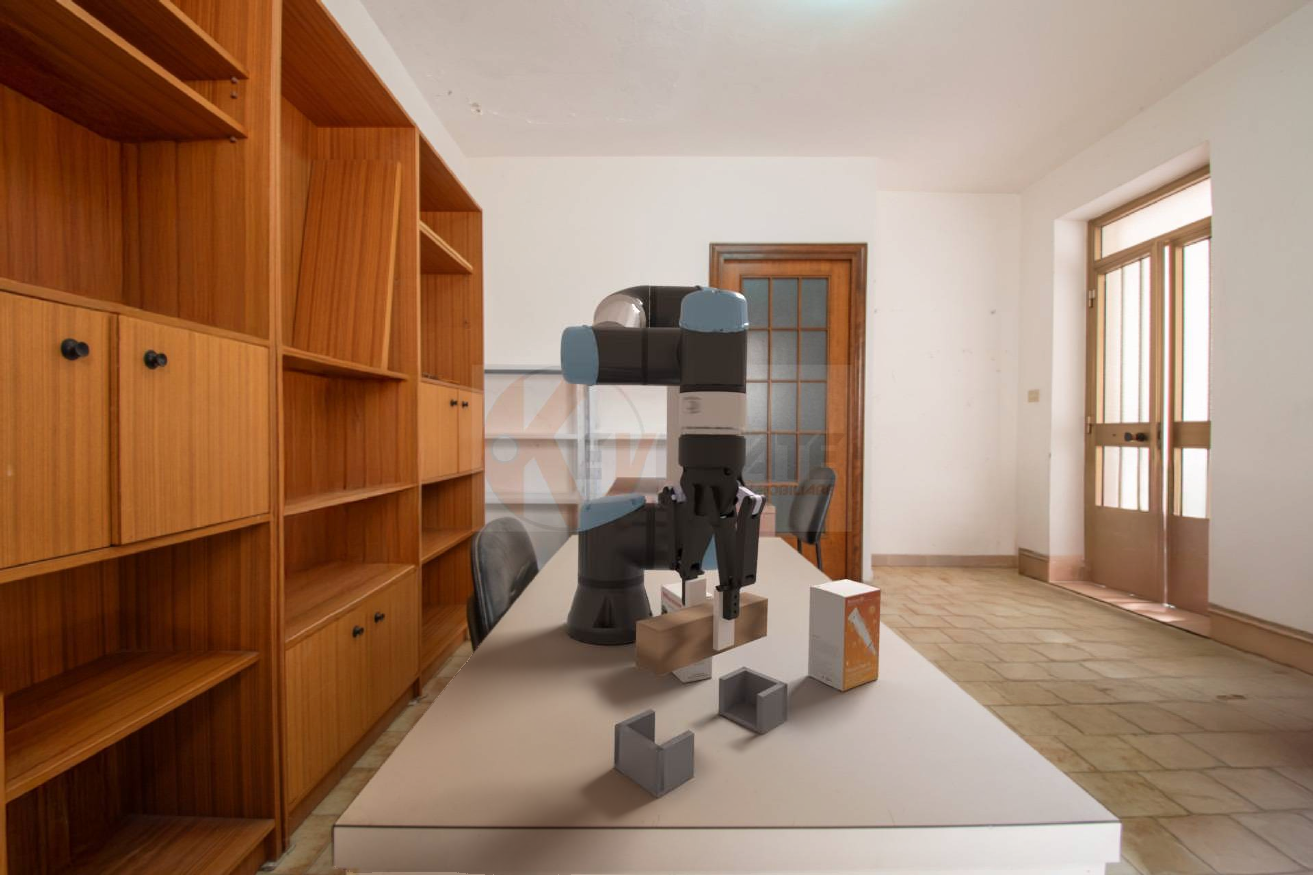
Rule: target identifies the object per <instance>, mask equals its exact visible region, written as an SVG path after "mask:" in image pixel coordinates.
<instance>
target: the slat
mask: <svg viewBox="0 0 1313 875" xmlns="http://www.w3.org/2000/svg"><path fill="white" fill-rule="evenodd" d="M713 604H714V601H710V602H707V603H703V604H699V605H696V606H692V607H688V608H685V609H681V610H677V611H674V612H670V613H666V614H663V615H661V614H659V615H655V616H653V617H652V618H648V619H644V620H641V621H637V624H636V641H635V658H634V661H635V666H636V667H638V668H640V669H642V670H644V671H647V672H648V673H651V674H652V675H654V676H657V677H661V676H664V675H666V674H670V673H673V672H672V671H675V670H677V669H680V668H683V667H685V666H688V665H691V664H693V663H696V662H699V661H701V660H704V659H707V658H709V657H712V658H713V657H714V656H717V655H720V654H723V653H725V652H727V651H730V650H733V649H735V648H739V647H741V646H744V645H746V644H749V643H752V642H754V641H756V640H760V639H762V638H765V637H767V636H768V612H769V611H768V610H769V598H768V597H767V598H766V597H763V596H760V595H756V594H753V593H749V592H746V591H743V592H740V601H739V616H738V618H735V619H734V645H732V646H729V647H727V648H724V649H722V650H719V651H717V650H714V649H713Z"/></svg>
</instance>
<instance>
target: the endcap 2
mask: <svg viewBox="0 0 1313 875" xmlns="http://www.w3.org/2000/svg"><path fill="white" fill-rule="evenodd" d="M718 714H720V715H722V716H723V717H726V718H728V719H729V720H732V721H734V722H736V723H738V724H740V725H742V726H744V727H746V728H748V729H750V730H752V731H753V732H756V733H758V734H759V735H762V736H763V735H764V734H766V733H767V732H770V731H771V730H772V729H774V728H776V727H777V726H779V725H781V724H782V723H784V722H786V721H788V683H787V682H784V681H781V680H780V679H779V680H778V679H776V678H773V677H771V676H769V675H766V674H764V673H761V672H759V671H756V670H753V669H751V668H750V667H746V666H742V667H739V668H738V669H735V670H733V671H731V672H728V673H727V674H724V675H723V676H720V677H719V678H718Z"/></svg>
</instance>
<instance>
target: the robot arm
mask: <svg viewBox="0 0 1313 875" xmlns="http://www.w3.org/2000/svg"><path fill="white" fill-rule="evenodd" d="M593 313H594V314H593V320H592V321H593V323H592V324H591V325H588V324H583V325H582V326H581V325H577V326H574V325H573V326H568V327H565V329H563V331H562V334H561V338H560V352H559V353H560V368H561V374H562V377H563V380H564V381H566V383H568V384H571V385H586V386H587V387H594V386H642V387H643V386H645V387H647V386H648V387H666V456H665V457H666V458H665V460H666V463H665V465H666V470H665V472H666V473H665V474H666V476H665V477H666V478H665V479H666V480H665V484H664V486H663V487H662V488H661V489H660V490H659V491H658V492H657V502H647V498H646V495H644V494H642V493H633V494H632V493H625V494H624V493H623V494H617V495H616V494H615V495H610V496H609V495H608V496H602V497H598V498H594V499H591V500H588V501H586V502H584V503H583V504H582V505H581V506H580V509H579V512H578V513H579V514H578V526H577V529H576V532H578V534H577V538H578V539H577V540H578V541H577V543H578V544H577V546H578V547H577V548H578V549H577V551H578V552H577V587H576V588H575V593H574V596H573V598H572V602H571V606H570V610H569V612H568V613H567V617H566V619H567V620H566V631H567V634H568V635H569V636H571V637H572V638H573V639H575V640H578V641H581V642H584V643H589V644H595V645H597V644H598V645H622V644H628V643H633V642H636V624H637V621H641V620H644V619H648V618H652V617H654V613H653V611H652V609H651V604H650V600H649V596H648V594H647V589H646V587H645V571H670V572H671V571H672V572H673V571H675V572H676V573H677V574H679V577H680V579H681V582H682V604H683V606H685V608H688V607H692V606H696V605H699V604H703V603H706V591H707V578H706V577H702V575H705V572H706V571H717V572H718V582H719V584H718V585H715V587H714V588H713V597H714V604H713V649H714V650H717V651H719V650H722V649H724V648H727V647H729V646H732V645H734V619H735V618H738V616H739V601H740V593H741V592H740V591H741V589H742V588H745V587H747V586H752V585H754V584H756V582H757V573H758V557H759V545H760V544H759V541H760V528H761V516H762V513H763V511H764V508H765V506H766V503H767V497H766V496H765V495H764V494H762V493H760V494H756V493H754V492H753V491H752V490H749V489H748V488H746V482H745V479H744V477H743V470H744V467H745V466H746V463H747V462H746V460H747V457H746V456H747V454H746V453H747V452H746V451H747V448H746V447H747V438H745V435H741V432H742V430H743V431H744V430H746V429H747V426H748V425H747V423H748V422H747V417H748V416H747V414H748V413H747V412H748V411H747V404H748V402H747V401H748V398H747V374H748V373H747V370H748V367H747V366H748V365H747V363H748V338H749V336H748V335H749V334H748V332H749V328H750V322H749V318H748V314H749V313H748V301H747V299H746V297H745V296H744V295H743V294H741V293H740V292H738V291H737V292H736V291H733V290H728V289H718V288H716V287H712V286H702V285H699V284H698V285H695V286H684V285H680V286H679V285H678V286H677V285H645V284H643V285H636V286H631V287H630V286H629V287H627V288H623V289H620V290H617V291H615V292H613V293H611V294H609V295H607V296H606V297H605V298H603V299H601V301H600V302H599V303H598V304H597V306H596V309H595V311H594V312H593ZM737 509H738V510H737Z"/></svg>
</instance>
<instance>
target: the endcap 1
mask: <svg viewBox="0 0 1313 875" xmlns="http://www.w3.org/2000/svg"><path fill="white" fill-rule="evenodd" d="M655 742H656V711H654V710H653V709H651V708H649V709H646V710H645V711H642V712H640V713H637V714H636V715H634V716H631V717H629V718H626V719H624V720H622V721H620V722H618V723H616V724H614V745H613V746H614V748H613V749H614V750H613V751H614V752H613V753H614V754H613V755H614V756H613V757H614V758H613V767H614V768H615V769H616V770H618V771H619V772H620V773H622V774H623V775H625V777H627V778H629V779H630V780H632V781H633V782H635V783H636V784H637V785H639V786H640V787H641V788H643V789H644V790H646V791H647V792H648V793H650V794H651V795H652V796H654V797H656V798H657V799H659V798H661V797H662V796H664V795H666V794H668V793H669V792H671V791H672V790H674V789H675V788H677V787H679V786H680V785H682V784H683V783H686V782H687V781H688V780H690V779H692V778H694V777H695V732H693V731H691V730H690V729H688V730H685V731H684V732H682V733H680V734H678V735H676V736H674V737H672V738H670V739H669V740H667V741H665V742H663V743H661V744H657V743H655Z"/></svg>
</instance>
